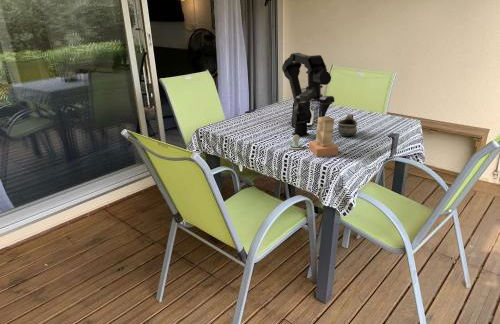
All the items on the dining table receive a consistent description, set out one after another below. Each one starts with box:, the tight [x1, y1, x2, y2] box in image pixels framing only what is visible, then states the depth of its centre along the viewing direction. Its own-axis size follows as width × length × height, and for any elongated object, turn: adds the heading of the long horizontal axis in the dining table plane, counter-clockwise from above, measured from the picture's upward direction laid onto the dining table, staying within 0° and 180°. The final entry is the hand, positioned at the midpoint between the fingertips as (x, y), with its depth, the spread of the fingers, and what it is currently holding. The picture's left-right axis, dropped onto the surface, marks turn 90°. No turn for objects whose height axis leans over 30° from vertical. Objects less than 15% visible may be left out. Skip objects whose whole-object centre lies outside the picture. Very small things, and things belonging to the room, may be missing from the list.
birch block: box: [315, 115, 335, 146], centre depth 164 cm, size 5×5×12 cm
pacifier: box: [288, 135, 305, 151], centre depth 172 cm, size 7×6×6 cm
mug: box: [337, 113, 358, 138], centre depth 187 cm, size 10×12×10 cm
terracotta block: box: [308, 140, 339, 158], centre depth 167 cm, size 10×10×4 cm
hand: (315, 117), depth 173 cm, fingers open, 9 cm apart
